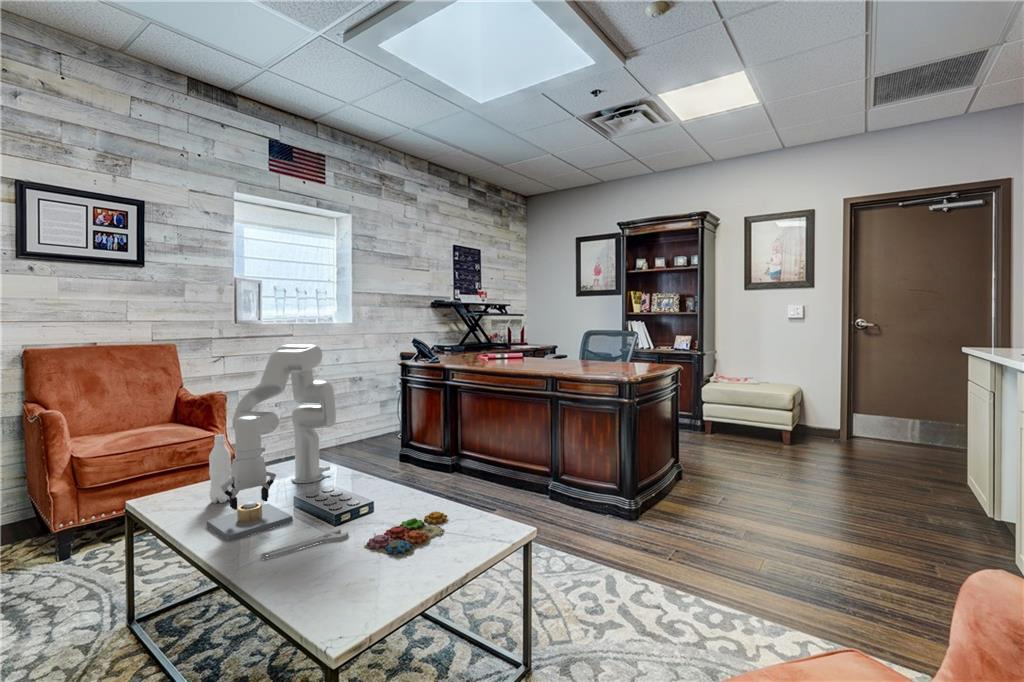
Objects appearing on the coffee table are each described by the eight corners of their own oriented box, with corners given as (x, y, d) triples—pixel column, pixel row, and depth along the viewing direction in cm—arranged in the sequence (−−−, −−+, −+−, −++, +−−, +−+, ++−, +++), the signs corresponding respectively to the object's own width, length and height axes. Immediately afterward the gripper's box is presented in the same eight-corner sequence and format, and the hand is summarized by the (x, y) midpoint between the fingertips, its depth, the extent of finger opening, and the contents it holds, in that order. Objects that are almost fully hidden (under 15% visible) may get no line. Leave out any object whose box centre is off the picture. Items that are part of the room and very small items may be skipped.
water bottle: (211, 499, 190) (209, 434, 189) (232, 496, 193) (231, 432, 192) (208, 506, 184) (207, 438, 182) (231, 503, 187) (229, 436, 185)
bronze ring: (256, 512, 172) (255, 501, 172) (265, 517, 168) (264, 505, 168) (234, 518, 167) (234, 506, 167) (243, 524, 163) (243, 511, 163)
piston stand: (268, 508, 181) (267, 489, 181) (292, 521, 169) (292, 501, 169) (206, 526, 166) (206, 505, 165) (228, 542, 154) (228, 519, 154)
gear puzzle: (426, 514, 178) (426, 502, 178) (464, 522, 170) (464, 511, 170) (361, 549, 151) (361, 535, 151) (402, 561, 143) (402, 547, 143)
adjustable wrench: (261, 563, 142) (261, 556, 142) (257, 554, 147) (257, 548, 147) (349, 539, 157) (349, 533, 157) (343, 532, 162) (342, 526, 162)
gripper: (269, 446, 176) (270, 495, 176) (215, 457, 162) (216, 509, 163) (279, 450, 171) (280, 500, 171) (224, 461, 157) (226, 515, 158)
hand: (249, 504), depth 167 cm, fingers open, 9 cm apart
